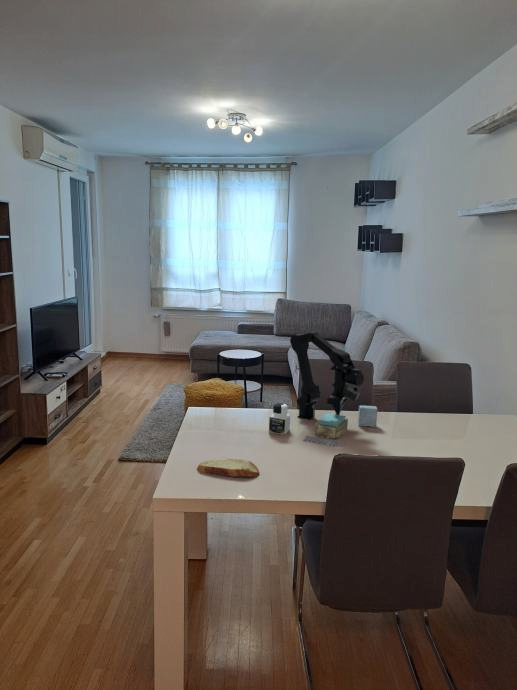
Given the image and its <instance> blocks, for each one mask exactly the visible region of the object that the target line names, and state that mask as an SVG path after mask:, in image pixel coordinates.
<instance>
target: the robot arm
mask: <svg viewBox="0 0 517 690" xmlns="http://www.w3.org/2000/svg"><path fill="white" fill-rule="evenodd" d="M289 341H290V345H291V348H292V350H293V351H294V352H295V354H296V357H297V362H298V363H297V364H298V367H299V372H300V376H301V377H300V378H301V381H302V386H301V389H300V393H301V394H300V396H299V398H297V399H296V403H297V404H296V405H297V406H299V408H298V409H299V411H298V415H297V418H299V419H305V420H312V419H313V418H314V417H315V416H316V407H315V404H318V401H319V399H320V398H321V394H322V393H321V391H320V386H319V385H318V384H317V385H316V384H315V382H314V379H313V374H312V369H311V364H310V360H309V355H308V350H309V346H310V343H312V344H313V345H314V346H316V347H317V348H318V349H319V350H321V351H322V352H323V353H324V354H325V355H327V357H328V358H329V361H330V362H331V363H332V364H333V366H331V367H330V370H331V371H333V383H332V384H331V386H332V392H331V395H330V396H329V397H328V398H326V404H327V405H332V407H333V409H334V410H333V411H334V412H335V414H336V415H341V412H342V409H343V406H344V404H345V403H346V402H347V401H348V399H346V397H347V398H349V399H350V400H352V401H353V402H355V401H356V400H357V399H358V397H359V395H360V389H359V387H361V386H362V385H363V383H364V381H365V376H364V374H363V373H362V371H363V370H362V369H357V368H356V367H355V365H354V362H353V360H352V358H351V355H350V354H349V352H346V351H345V350H343V349H339V348H337V347H335V345H333V344H332V343H330V342H329V341H328V340H326V338H324V337H323V336H321V335H320V333H319V332H317V331H311V332H308V333H299V334H298V333H297V334H292V335H291V337H290V339H289ZM349 384H350V385H353V386H354V387H350V386H349Z"/></svg>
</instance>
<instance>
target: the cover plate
mask: <svg viewBox="0 0 517 690" xmlns="http://www.w3.org/2000/svg"><path fill="white" fill-rule="evenodd" d="M345 420H346V415H341V414H340V415H336V413H329V412H327V413H326V414H324V415H323V416H322V417H321V418H320V419H319V420H318V421H319V424H320V425H326V426H331V427H337V428H338V427H339V426H340V425H341V424H342V423H343V422H344V421H345Z"/></svg>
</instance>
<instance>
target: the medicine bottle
mask: <svg viewBox="0 0 517 690" xmlns="http://www.w3.org/2000/svg"><path fill="white" fill-rule="evenodd" d="M288 409H289V408H288V405H287V404H285V403H283V402H282V403H281V402H280V403H279V402H278V403H274V404H273V408H272V414H271V415H270V416H269V419H268V420H269V421H268V433H271V434H277V435H286V434H287V433H288V432H289V431H290V430H291V429H290V427H291V414H289V413H288Z"/></svg>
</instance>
